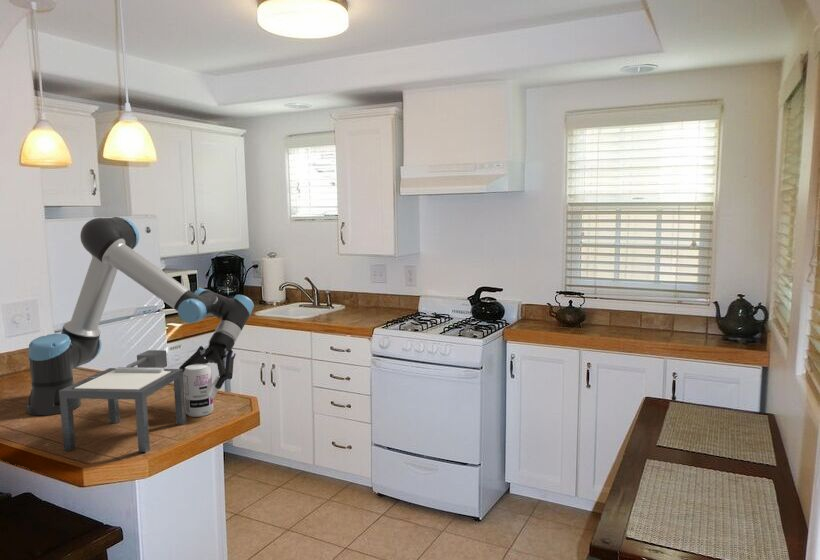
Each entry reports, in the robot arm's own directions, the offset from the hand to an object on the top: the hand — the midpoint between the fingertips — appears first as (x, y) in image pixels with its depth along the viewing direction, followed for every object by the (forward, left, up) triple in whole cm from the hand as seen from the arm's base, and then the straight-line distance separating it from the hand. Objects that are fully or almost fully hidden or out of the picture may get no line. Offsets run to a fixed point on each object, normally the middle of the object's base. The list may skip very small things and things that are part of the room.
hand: (193, 394), depth 190 cm
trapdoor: (-11, -9, +7) cm, 16 cm away
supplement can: (+1, +2, -7) cm, 7 cm away
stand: (-11, -18, -7) cm, 22 cm away
